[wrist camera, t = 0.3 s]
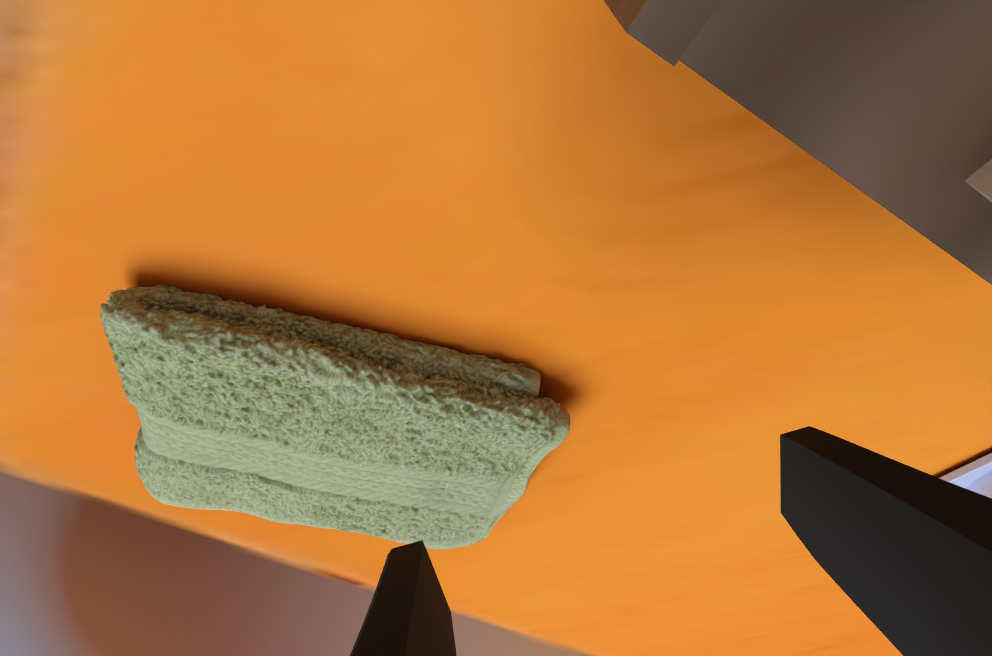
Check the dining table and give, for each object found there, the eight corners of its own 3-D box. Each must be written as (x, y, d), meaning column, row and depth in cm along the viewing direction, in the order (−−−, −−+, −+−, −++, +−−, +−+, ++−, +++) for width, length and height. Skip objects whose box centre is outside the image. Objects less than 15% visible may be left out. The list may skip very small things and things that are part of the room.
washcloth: (489, 523, 29) (485, 581, 26) (164, 452, 26) (125, 508, 24) (581, 368, 21) (588, 431, 18) (123, 243, 18) (58, 295, 16)
